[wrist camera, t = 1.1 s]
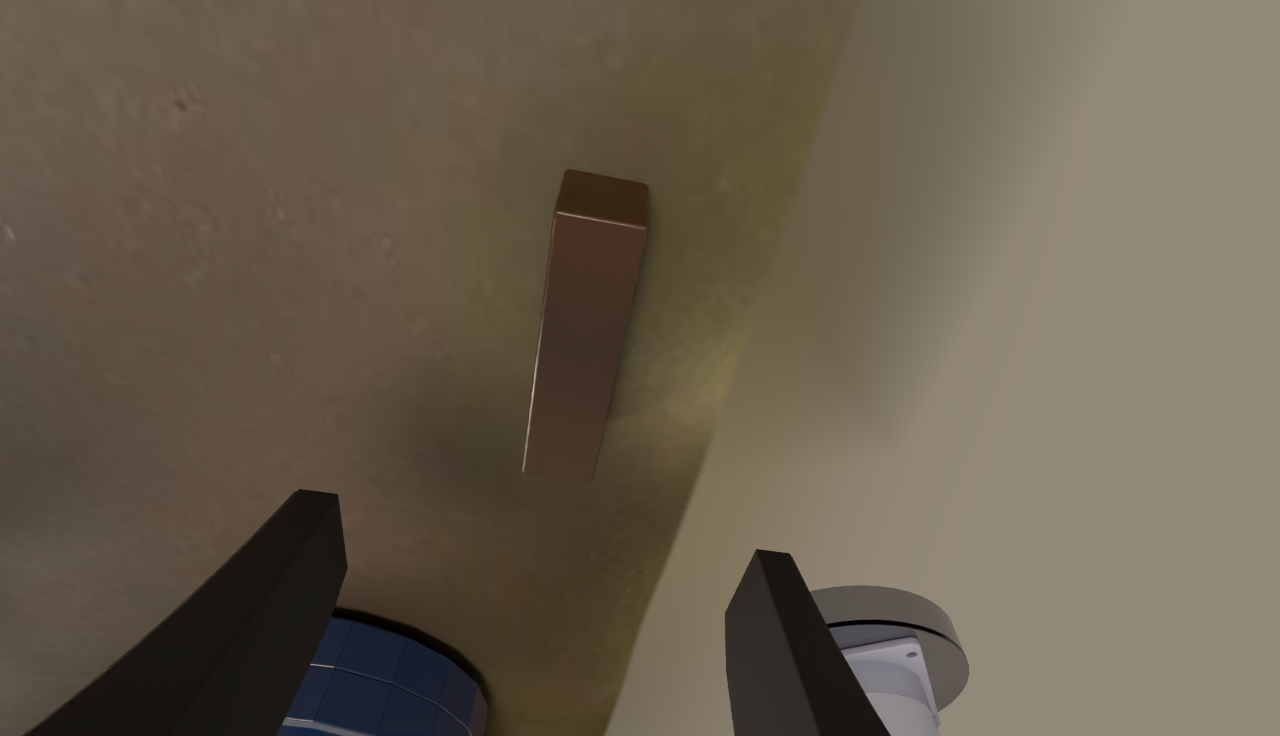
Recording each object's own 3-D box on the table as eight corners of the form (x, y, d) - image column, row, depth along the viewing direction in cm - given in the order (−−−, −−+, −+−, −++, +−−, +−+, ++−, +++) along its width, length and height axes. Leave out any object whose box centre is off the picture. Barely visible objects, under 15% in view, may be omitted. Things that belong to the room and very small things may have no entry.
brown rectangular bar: (597, 426, 20) (592, 484, 18) (533, 416, 20) (521, 474, 18) (648, 183, 15) (649, 227, 14) (565, 167, 15) (554, 209, 13)
